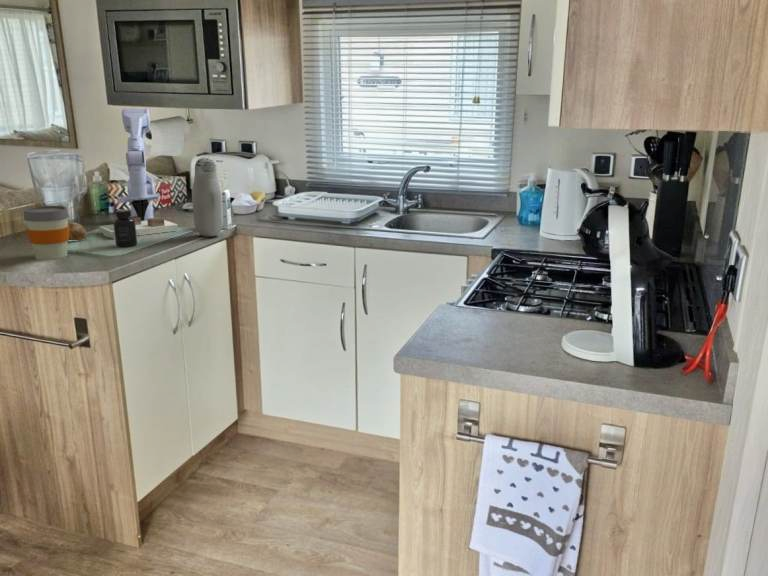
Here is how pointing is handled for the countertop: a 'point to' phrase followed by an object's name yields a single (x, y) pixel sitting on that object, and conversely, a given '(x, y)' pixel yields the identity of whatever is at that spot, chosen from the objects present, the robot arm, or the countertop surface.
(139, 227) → the board
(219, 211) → the grey bottle
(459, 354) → the countertop surface
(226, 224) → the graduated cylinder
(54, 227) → the reusable coffee cup
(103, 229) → the tray
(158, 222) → the tile
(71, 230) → the bread roll
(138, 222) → the tile
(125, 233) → the supplement bottle
